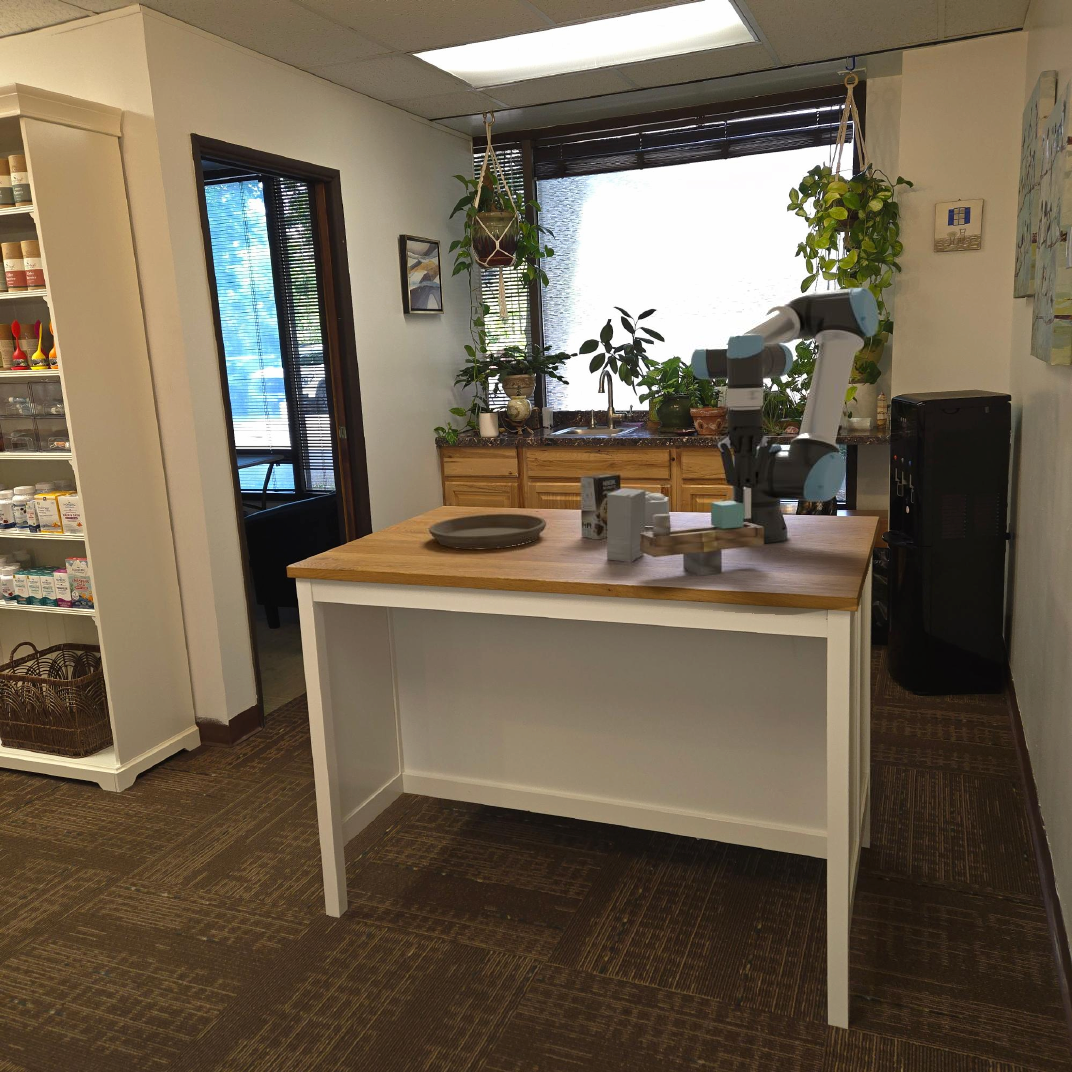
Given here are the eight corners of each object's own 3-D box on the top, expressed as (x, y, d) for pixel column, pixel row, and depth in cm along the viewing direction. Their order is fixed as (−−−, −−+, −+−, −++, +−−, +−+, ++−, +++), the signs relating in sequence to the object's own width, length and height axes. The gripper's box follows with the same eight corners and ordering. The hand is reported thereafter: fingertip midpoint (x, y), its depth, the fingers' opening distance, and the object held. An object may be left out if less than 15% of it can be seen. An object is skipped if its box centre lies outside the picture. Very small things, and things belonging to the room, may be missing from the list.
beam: (745, 561, 210) (745, 504, 208) (764, 568, 203) (765, 508, 200) (639, 573, 203) (638, 514, 200) (655, 581, 195) (654, 519, 193)
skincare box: (621, 553, 224) (619, 487, 221) (648, 555, 221) (647, 488, 218) (605, 560, 217) (603, 492, 214) (633, 562, 213) (631, 493, 210)
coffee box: (598, 540, 241) (596, 478, 238) (580, 537, 246) (579, 476, 243) (622, 534, 247) (621, 474, 244) (605, 532, 252) (603, 472, 249)
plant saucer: (452, 557, 228) (451, 539, 228) (415, 537, 256) (414, 521, 255) (566, 542, 241) (565, 525, 240) (519, 525, 269) (518, 509, 268)
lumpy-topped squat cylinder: (667, 528, 254) (667, 496, 253) (619, 528, 257) (619, 496, 256) (670, 521, 264) (669, 491, 263) (624, 521, 267) (623, 491, 266)
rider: (731, 532, 206) (731, 500, 205) (743, 536, 202) (743, 503, 200) (711, 534, 205) (711, 502, 203) (722, 538, 200) (722, 505, 199)
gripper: (727, 410, 194) (726, 522, 198) (781, 407, 198) (780, 517, 202) (709, 409, 201) (709, 517, 205) (762, 406, 205) (761, 512, 209)
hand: (744, 517), depth 204 cm, fingers closed
